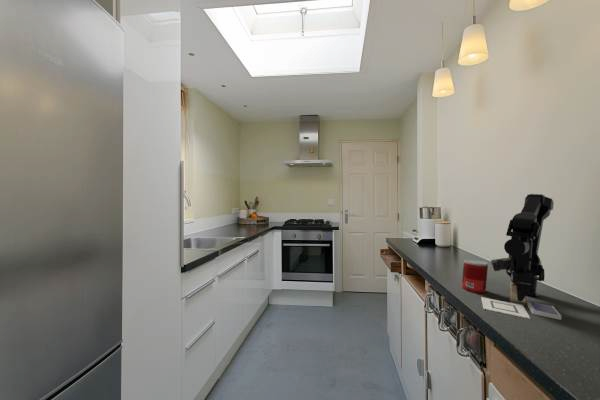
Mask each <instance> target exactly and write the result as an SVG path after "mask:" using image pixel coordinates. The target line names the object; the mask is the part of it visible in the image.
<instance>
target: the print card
mask: <svg viewBox="0 0 600 400" xmlns="http://www.w3.org/2000/svg"><path fill="white" fill-rule="evenodd" d="M480 298H481V299H480V300H481V302H482V303H481V304H482V308H483V310H485V309H486V311H490V312H494V313H499V312H500V314H505V315H509V316H513V317H514V316H515V317H519V318H522V319H528V320H531V317H530V315H529V313H528V312H527V310H526V309H525V307H524V305H522V304H516V303H511V302H510V301H509V302H508V301H503V300H498V299H493V298H488V297H482V296H480Z"/></svg>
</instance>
